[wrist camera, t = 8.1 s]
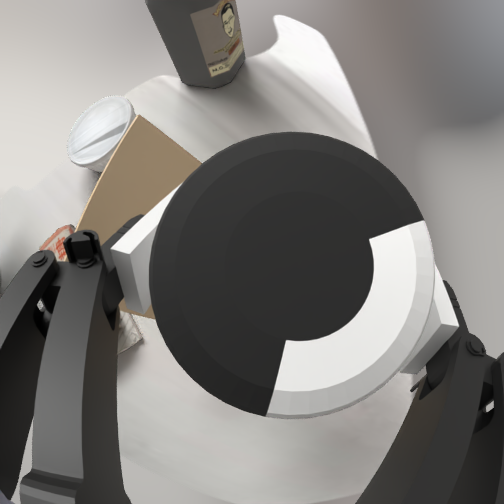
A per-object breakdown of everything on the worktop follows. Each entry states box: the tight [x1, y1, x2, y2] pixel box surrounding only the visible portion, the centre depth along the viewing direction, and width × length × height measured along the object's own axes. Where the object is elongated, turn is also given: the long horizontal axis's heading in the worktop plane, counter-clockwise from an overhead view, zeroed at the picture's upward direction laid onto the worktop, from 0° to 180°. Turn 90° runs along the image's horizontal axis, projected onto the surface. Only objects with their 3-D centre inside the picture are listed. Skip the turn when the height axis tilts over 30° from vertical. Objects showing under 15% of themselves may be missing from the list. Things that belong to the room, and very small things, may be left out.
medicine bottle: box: [149, 132, 435, 419], centre depth 10 cm, size 7×7×12 cm
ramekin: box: [67, 96, 136, 172], centre depth 32 cm, size 11×11×5 cm
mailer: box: [64, 115, 202, 319], centre depth 22 cm, size 20×13×16 cm, turn 66°
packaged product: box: [39, 224, 142, 355], centre depth 29 cm, size 18×5×10 cm
